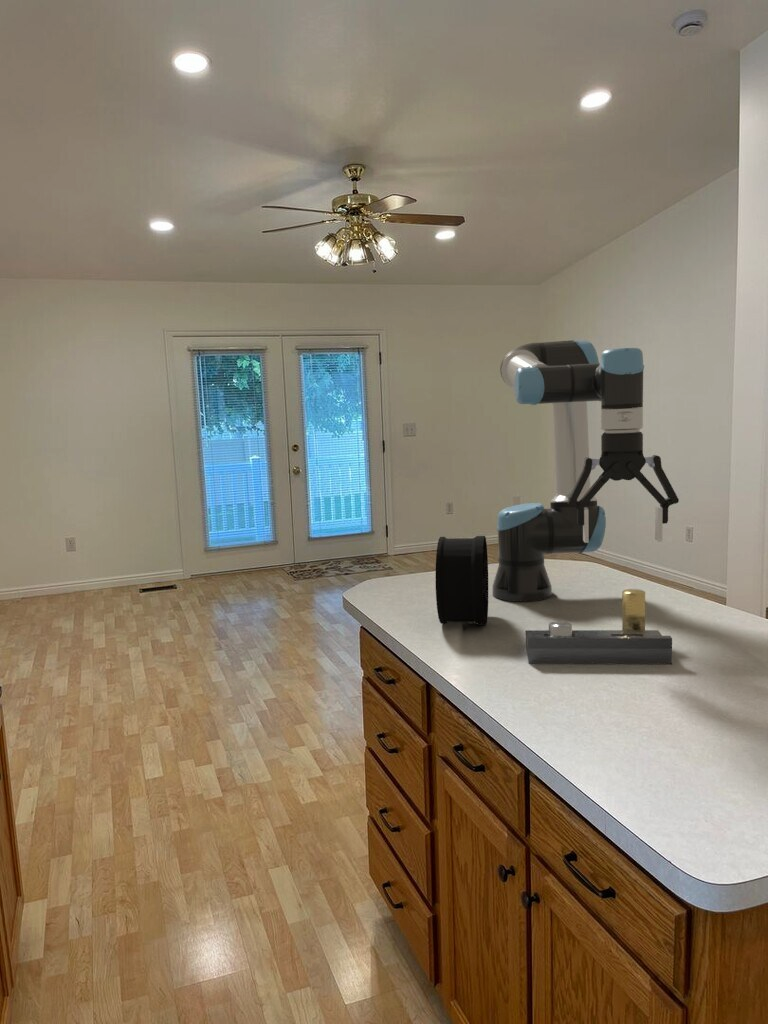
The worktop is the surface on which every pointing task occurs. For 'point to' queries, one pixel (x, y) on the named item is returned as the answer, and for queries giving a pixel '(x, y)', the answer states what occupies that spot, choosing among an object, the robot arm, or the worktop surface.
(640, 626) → the gold metal cylinder
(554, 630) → the silver metal cylinder
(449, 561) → the car wheel rim
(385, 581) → the worktop surface
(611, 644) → the jig
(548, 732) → the worktop surface
